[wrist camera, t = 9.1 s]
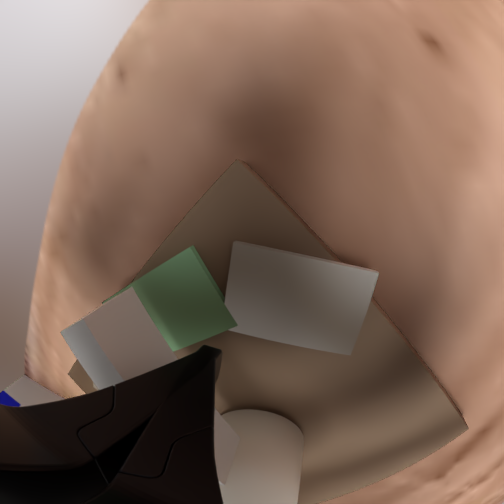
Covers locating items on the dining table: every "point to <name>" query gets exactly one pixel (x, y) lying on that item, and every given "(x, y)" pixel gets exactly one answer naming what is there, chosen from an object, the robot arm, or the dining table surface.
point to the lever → (225, 426)
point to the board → (293, 337)
